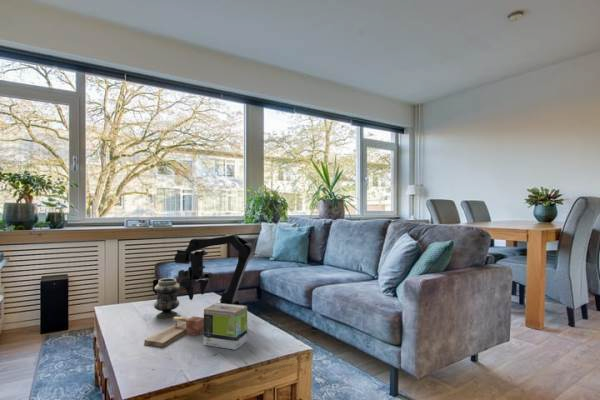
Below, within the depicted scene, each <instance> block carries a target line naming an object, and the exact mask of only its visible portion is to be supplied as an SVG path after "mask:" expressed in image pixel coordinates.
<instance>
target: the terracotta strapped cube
mask: <svg viewBox="0 0 600 400" xmlns="http://www.w3.org/2000/svg"><path fill="white" fill-rule="evenodd" d="M172 321H174V322H175V323H176V326H177V322H180V323H186V334H185V335H194V336H199V335H201V334H202V333H204V316H203V317H202V316H201V317H200V316H195V315H194V316H190V317H189V318H188V317H180V316H174V317H172Z"/></svg>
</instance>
